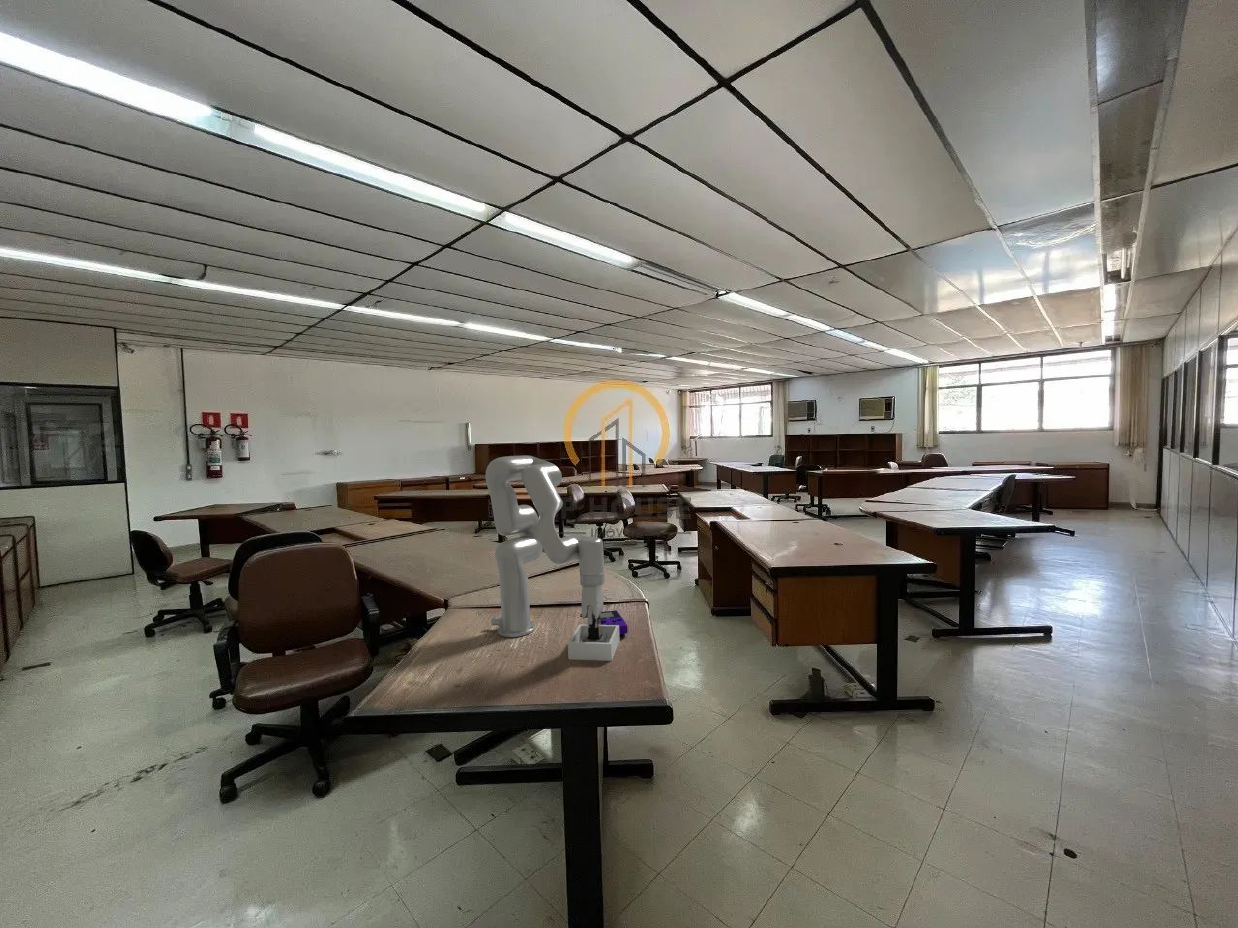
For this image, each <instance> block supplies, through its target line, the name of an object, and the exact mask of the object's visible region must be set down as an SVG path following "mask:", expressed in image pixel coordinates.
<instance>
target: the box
mask: <svg viewBox="0 0 1238 928" xmlns="http://www.w3.org/2000/svg"><path fill="white" fill-rule="evenodd" d="M620 640H621V639H620V634H619V625H601V639H600V640H589V638H588V624H582V623H581V624H578V626H577V628H575V630H574V632H573V634H572V636H571V637H570V639H569V640H568V642H567V653H568V655H567V656H568V657H567V658H568V660H572V661H573V660H576V661H602V662H604V661H607V662H612V661H613V660H614V656H615V654H616V652H617V648H618V646H619V644H620Z"/></svg>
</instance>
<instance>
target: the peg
mask: <svg viewBox="0 0 1238 928" xmlns="http://www.w3.org/2000/svg"><path fill="white" fill-rule="evenodd" d="M593 617H595V616H593ZM593 621H595V620H593ZM597 623H598V627H599V640H600V639H601V617H598V618H597Z"/></svg>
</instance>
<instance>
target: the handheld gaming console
mask: <svg viewBox="0 0 1238 928" xmlns="http://www.w3.org/2000/svg"><path fill="white" fill-rule="evenodd" d="M600 617H601V625H619V635H626V634H628V623H626V621H625V620H624V618H623V617H622V615H621V614H620V613H619V612H618V610H615V609H614V610H608V611H602V612H601V614H600Z"/></svg>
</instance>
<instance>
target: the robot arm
mask: <svg viewBox="0 0 1238 928" xmlns="http://www.w3.org/2000/svg"><path fill="white" fill-rule="evenodd" d="M562 476H563V475H562V471H561V470H560V469H559V467H558V466H557V465H556V464H554V463H552V462H549V461H547V460H544V459H541V458H538V457H535V456H533V455H527V454H526V455H509V456H501V457H497V458H494V459H493V460H492V461H490V463H489V464H488V465H487V467H486V470H485V481H486V483H485V484H486V486H487V490H488V492H489V496H490V501H491V507H492V512H493V519H494V525H495V530H496V533H498V535H501V536H504V537H509V536H512V535H519V536H518V537H514V538H510V539H506V540H505V541H503V542H501V543H499V544H498V546H497V547H496V549H495V552H494V557H495V561H496V565H497V569H498V576H499V589H500V591H499V592H500V607H501V609H500V611H501V616H500V617H498V616H497V617H491V625H492V626H498V628H497V634H498V635H499V636H500V637H504V638H517V637H523V636H527V635H529V634H531V633H532V632H534V631H535V629H536V624H535V622H533V621H531V612H530V609H531V607H530V606H531V605H530V592H529V587H530V586H529V577H528V574H527V572H526V570H525V568H524V566H523V565H525V564H529V563H531V562H534V561H536V560H538V559H539V558H540V557H541V555H542V554H543V551H544V553H545V555H546V556H547V558H548V559H549V560H550V561H551V562H552V563H554V564H556V565H563V564H566V563H568V562H571V561H574V560H577V559H578V563H579V565H578V566H579V585H580V586H581V587H582V588H581V618H582V619H583V620H584V619H586V618H587V624H586V625H588V638H589V640H599V627H598V623H597V618H598V617H600V614H601V612H603V609H604V591H603V585H604V584H605V583H606V579H605V575H606V574H605V561H604V558H605V556H604V554H605V553H604V543H603V539H602V538H600V537H596V536H590V537H589V536H585V535H582V534H577V533H576V534H575V533H574V534H571V535H568V536H564V537H560V536H559V533H558V531H557V529H556V525H555V517H556V514H557V513H558V512H559V511H560V510H561V509H562V507H563V505H564V502H563V500H562V498H561V496H560V493H558V490H557V489H556V488H557V487H558V486H560V484H561V482H562ZM515 481H522V483H523V486H524V488H525V490H526V492H527V494H528V495H529V497H530V499H531V502H532V503H533V505H534V507H535V508H533V507H532V506H531V505H528V504H520V505H519V503H518V500H517V499H518V498H517V494H516V491H515V489H514V487H513V486H512V485H511V484H510V483H509V482H515ZM535 509H536V510H535ZM536 511H537V512H536ZM593 616H595V617H593ZM593 620H595V621H593Z"/></svg>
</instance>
